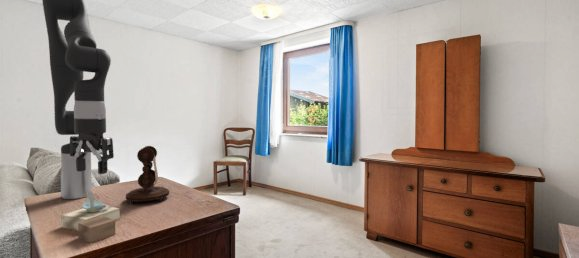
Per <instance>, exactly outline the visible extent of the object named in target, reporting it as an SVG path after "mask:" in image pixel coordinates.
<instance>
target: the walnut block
mask: <svg viewBox="0 0 579 258" xmlns="http://www.w3.org/2000/svg"><path fill="white" fill-rule="evenodd" d="M77 233H78V236H77V237H78V238H79V239H80V240H83V241H85V242H87V243H90V244H91V243H94V242H97V241H100V240H102V239H106V238H109V237H111V236H114V235H116V221H115V220H113V219H110V218H107V217H104V216H101V217H98V218H94V219H91V220H87V221H84V222H80V223H78V230H77Z"/></svg>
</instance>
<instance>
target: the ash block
mask: <svg viewBox="0 0 579 258" xmlns="http://www.w3.org/2000/svg"><path fill="white" fill-rule="evenodd" d="M102 208H105V207H100V208H99V209H102ZM120 212H121V209H120V207H119V208H118V207H112V206H109V208H108V209H107V210H104V211H97V212H89V210H86V209H84V208H83V207H82V208H80V209H76V210H73V211H70V212H66V213H63V214H61V215H60V217H61V228H65V229H69V230H74V231H78V223H80V222H84V221H87V220H91V219H94V218H98V217H101V216H104V217H107V218H110V219H113V220H115V222H117V221H120V219H121V218H120V217H121V214H120Z"/></svg>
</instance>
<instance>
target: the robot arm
mask: <svg viewBox="0 0 579 258" xmlns="http://www.w3.org/2000/svg"><path fill="white" fill-rule="evenodd" d="M41 1H42V7H43V13H44V14H43V15H44V19H45V25H46V33H47V39H48V50H49V65H50V74H51V76H50V77H51V82H52V89H53V101H54V102H53V103H54V106H53V107H54V126H55V132H56V133H57V134H58V135H59V136H60V135H61V136H68V135H69V136H70V137H69V143H66V144H63V145H61V147H60V158H61V159H60V161H61V171H60V174H59V175H60V197H61V198H62V199H64V200H76V199H82V198H86V197H87V193H88V191H90V190H91V191H92V192H93V190H92V189H93V188H92V187H93V185H92V178H93V177H92V155H94V156H95V157H96V159H97V160H98V161H97V173H98V175H104V174H107V172H108V170H109V169H108V161H109V160H111V159H114V157H115V156H114V143H113V142H114V141H113V138H112V137H105V138H104V134H105V133H106V132H107V115H106V114H107V113H106V109H107V108H106V106H105V84H106V80H107V76H108V72H109V70H110V67H111V64H112V63H111V61H112V59H111V56H110V54H109V53H108V51H107V50H106V49H102V48H99V47H97V42H96V40H95V38H94V36H93V35H94V34H93V33H92V31H91V28H90V21H89V16H88V15H89V14H88V11H87V6H86V2H85V0H41ZM58 20H59V21H60V20H61V21H69V22H67V23H66V25H65V27H64V28H63V29H64V30H63V31H62V30H61V27H60V25H59V21H58ZM84 72H87V73H94V76H93V77H92V78H89V79H84ZM73 94H74V97H73V98H74V106H73V110H67V109H66V107H67V104H68V101H69V100H70V98H71V96H72V95H73ZM87 198H88V197H87Z"/></svg>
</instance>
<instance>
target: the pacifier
mask: <svg viewBox="0 0 579 258" xmlns="http://www.w3.org/2000/svg"><path fill="white" fill-rule="evenodd" d="M87 199H88V200H86V201H84V202H83V203H82V209H83V208H84V209H86V210H89V212H97V211H104V210H107V209H108V208H109V207H110V206H109V205H108V204H104V203H103V202H101V201H98V200H96V197H95V194H94V192H93V190H92V191H91V190H90V191H88V193H87ZM100 207H105V208H102V209H99V208H100Z"/></svg>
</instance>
